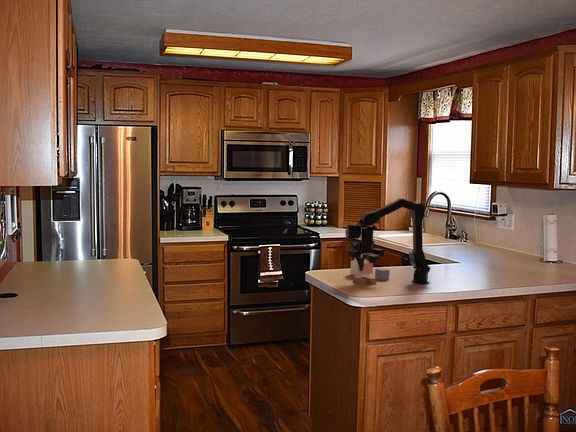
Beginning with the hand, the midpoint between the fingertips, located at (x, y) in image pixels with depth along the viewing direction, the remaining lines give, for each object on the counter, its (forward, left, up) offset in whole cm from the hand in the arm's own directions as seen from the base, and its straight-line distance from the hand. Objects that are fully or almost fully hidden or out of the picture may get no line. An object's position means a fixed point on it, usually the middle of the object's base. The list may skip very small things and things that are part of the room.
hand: (365, 270), depth 295 cm
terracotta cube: (0, 0, -1) cm, 1 cm away
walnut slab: (0, 0, -6) cm, 6 cm away
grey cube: (-14, -4, -6) cm, 16 cm away
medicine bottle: (-9, -16, -6) cm, 19 cm away
